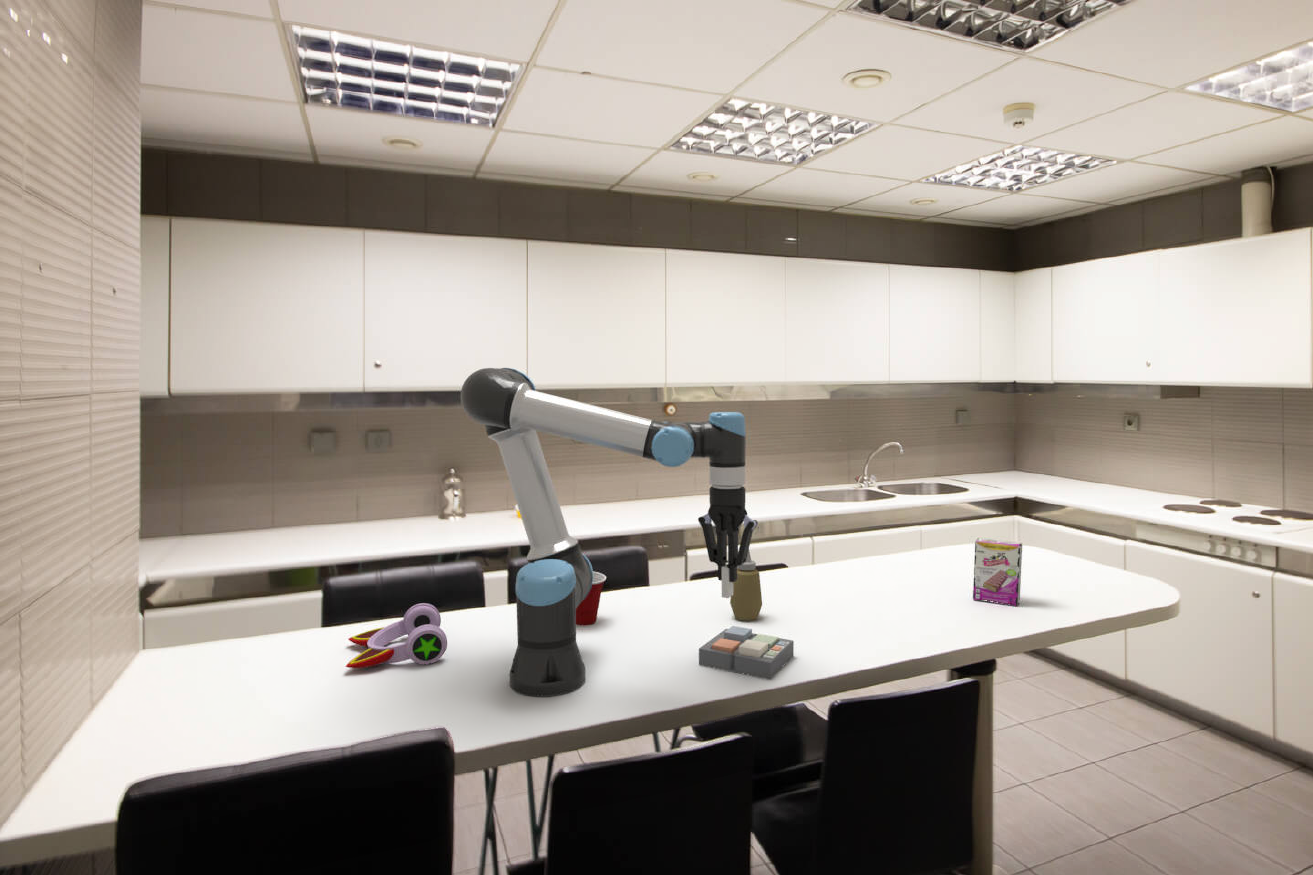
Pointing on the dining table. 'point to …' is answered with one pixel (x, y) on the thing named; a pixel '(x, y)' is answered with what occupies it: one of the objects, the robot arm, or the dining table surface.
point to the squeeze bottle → (746, 592)
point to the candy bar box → (997, 571)
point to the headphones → (420, 646)
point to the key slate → (738, 634)
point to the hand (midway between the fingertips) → (727, 595)
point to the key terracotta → (726, 645)
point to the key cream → (753, 648)
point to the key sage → (766, 639)
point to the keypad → (747, 658)
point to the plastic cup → (590, 602)
